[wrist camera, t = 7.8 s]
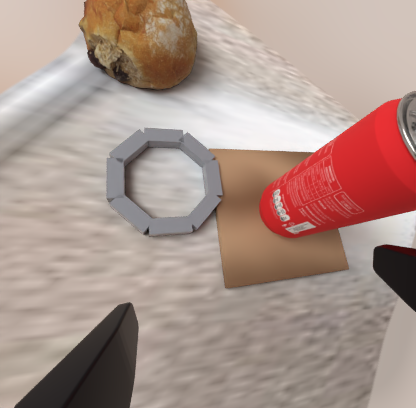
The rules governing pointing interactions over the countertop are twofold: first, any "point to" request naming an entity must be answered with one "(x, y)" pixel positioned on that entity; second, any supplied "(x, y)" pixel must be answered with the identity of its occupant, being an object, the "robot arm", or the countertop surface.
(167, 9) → the bread roll
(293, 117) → the countertop surface
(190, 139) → the ring
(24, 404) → the robot arm
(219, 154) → the coaster
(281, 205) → the beverage can
